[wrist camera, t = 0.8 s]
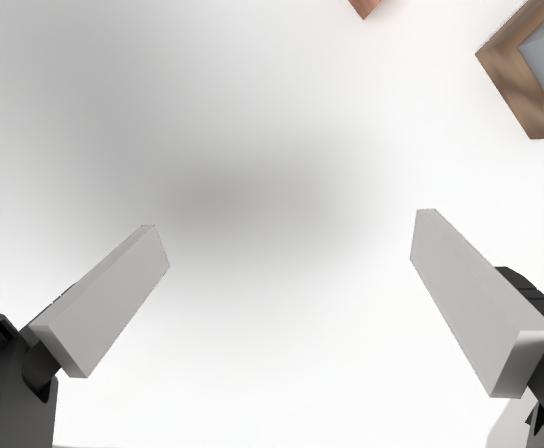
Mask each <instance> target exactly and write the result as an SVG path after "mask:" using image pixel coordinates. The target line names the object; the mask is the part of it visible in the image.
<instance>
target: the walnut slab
mask: <svg viewBox="0 0 544 448" xmlns="http://www.w3.org/2000/svg"><path fill="white" fill-rule="evenodd" d="M543 21H544V0H528V1H527V2H526V3H525V4H524V5H523V6H522V7H521V8H520V9H519V10H518V11H517V12H516V13H515V14H514V15H513V16H512V17H511V18H510V19H509V20H508V21H507V22H506V23H505V24H504V25H503V26H502V27H501V28H500V29H499V30H498V31H497V32H496V33H495V35H494V36H493V37H492V38H491V39H490V40H489V41H488V42H487V43H486V44H485V45H484V46H483V47H482V48H481V49H480V50H479V51H478V52H477V53H476V54H475V56H476V57H477V59H478V60H479V62H480V63H481V65H482V66H483V68H484V69H485V71H486V72H487V74H488V75H489V77H490V78H491V80H492V82H493V83H494V85H495V86H496V88H497V89H498V91H499V92H500V94H501V95H502V97H503V98H504V100H505V101H506V103H507V105H508V106H509V108H510V109H511V111H512V112H513V114H514V115H515V117H516V118H517V120H518V121H519V123H520V124H521V126H522V127H523V129H524V131H525V132H526V134H527V135H528V137H529V138H530V139H544V91H543V89H542V88H541V86H540V84H539V83H538V81H537V79H536V78H535V76H534V74H533V73H532V71H531V69H530V68H529V66H528V64H527V63H526V61H525V59H524V58H523V56H522V54H521V53H520V51H519V49H518V48H517V47H518V46H519V45H520V44H521V43H522V42H523V41H524V40H525V39H526V38H527V37H528V36H529V35H530V34H531V33H532V32H533V31H534V30H535V29H536V28H537V27H538V26H539V25H540V24H541V23H542V22H543Z"/></svg>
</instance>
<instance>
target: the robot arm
mask: <svg viewBox="0 0 544 448" xmlns="http://www.w3.org/2000/svg"><path fill="white" fill-rule="evenodd" d="M410 260H411V262H412V264H413V266H414V267H415V269H416V271H417V272H418V274H419V276H420V278H421V279H422V281H423V283H424V285H425V286H426V288H427V290H428V292H429V293H430V295H431V297H432V298H433V300H434V302H435V304H436V305H437V307H438V309H439V311H440V312H441V314H442V316H443V317H444V319H445V321H446V323H447V324H448V326H449V328H450V330H451V331H452V333H453V335H454V337H455V338H456V340H457V342H458V343H459V345H460V347H461V349H462V350H463V352H464V354H465V356H466V357H467V359H468V361H469V362H470V364H471V366H472V368H473V369H474V371H475V373H476V375H477V376H478V378H479V380H480V382H481V383H482V385H483V387H484V388H485V390H486V392H487V394H488V395H489V397H495V398H516V399H520V398H521V396H522V395H523V393H524V391H525V389H526V388H527V386H528V387H529V388H530V390H531V391H532V392H533V394H534V395H535V397H536V398H537V399H538V402H537V404H536V405H535V407H534V409H533V410H532V412H531V413H530V415H529V416H528V418H527V420H526V421H525V423H527V424H529V425H530V431H529V435H528V440H527V445H526V448H544V294H543V293H542V292H541V291H539V290H537V289H536V287H535V286H534V285H533V284H532V283H531V282H529V281H528V280H527V279H526V278H525V277H524V276H522V275H521V274H519V273H517V272H515V271H513V270H511V269H509V268H508V267H493V266H492V265H491V264H490V263H489V262H488V261H487V260H486V259H485V258H484V257H483V256H482V255H481V254H480V253H479V252H478V251H477V250H476V249H475V248H474V247H473V246H472V245H471V244H470V243H469V242H468V241H467V240H466V239H465V238H464V237H463V236H462V235H461V234H460V233H459V232H458V231H457V230H456V229H455V228H454V227H453V226H452V225H451V224H450V223H449V222H448V221H447V220H446V219H445V218H444V217H443V216H442V215H441V214H440V213H439V212H438V211H437V210H436V209H420V210H417V213H416V219H415V226H414V233H413V240H412V246H411V253H410ZM169 267H170V264H169V262H168V259H167V256H166V254H165V251H164V248H163V246H162V243H161V240H160V238H159V235H158V233H157V230H156V227H155V225H144V226H141V227H140V228H138V229H137V230H136V231H135V232H134V233H133V234H132V235H130V236H129V237H128V238H127V239H126V240H125V241H124V242H122V243H121V244H120V245H119V246H118V247H117V248H116V249H114V250H113V251H112V252H111V253H110V254H109V255H108V256H106V257H105V258H104V259H103V260H102V261H101V262H100V263H98V264H97V265H96V266H95V267H94V268H93V269H92V270H90V271H89V272H88V273H87V274H86V275H85V276H84V277H83V278H81V279H80V280H79V281H78V282H77V283H75V284H73V285H72V286H71V287H69V288H68V289H67V290H66V291H65V292H64V293H62V294H61V296H59V297H58V298H57V299H56V300H54V301H53V304H50V305H49V306H48V307H46V308H45V309H44V310H43V311H42V312H41V313H39V314H38V315H37V316H36V317H35V318H34V319H33V320H31V321H30V322H29V323H28V324H27V325H26V326H25V327H23V328H22V329H21V330H20V331H19V332H18V331H17V329H16V328H15V327H14V326H13V325H12V323H11V322H10V321H9V320H8V319H7V317H6V316H5V315H3V314H0V448H52V442H53V432H54V422H55V412H56V402H57V392H58V379H57V377H56V376H55V374H56V373H57V371H58V370H59V369H60V368H62V369H63V370H64V371H65V373H66V374H67V375H68V376H69V377H73V378H88V377H89V375H90V374H91V373H92V371H93V370H94V369H95V367H96V366H97V365H98V363H99V362H100V360H101V359H102V358H103V356H104V355H105V354H106V352H107V351H108V350H109V348H110V347H111V346H112V344H113V343H114V341H115V340H116V339H117V337H118V336H119V335H120V333H121V332H122V331H123V329H124V328H125V327H126V325H127V324H128V323H129V321H130V320H131V318H132V317H133V316H134V314H135V313H136V312H137V310H138V309H139V308H140V306H141V305H142V304H143V302H144V301H145V299H146V298H147V297H148V295H149V294H150V293H151V291H152V290H153V289H154V287H155V286H156V285H157V283H158V282H159V281H160V279H161V278H162V276H163V275H164V274H165V272H166V271H167V270H168V268H169Z"/></svg>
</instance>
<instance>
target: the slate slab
mask: <svg viewBox="0 0 544 448" xmlns="http://www.w3.org/2000/svg"><path fill="white" fill-rule="evenodd" d="M517 48H518V49H519V51H520V53H521V54H522V56H523V58H524V59H525V61H526V63H527V64H528V66H529V68H530V69H531V71H532V73H533V74H534V76H535V78H536V79H537V81H538V83H539V84H540V86H541V88H542V89H543V91H544V21H543V22H542V23H541V24H540V25H539V26H538V27H537V28H536V29H535V30H534V31H533V32H532V33H531V34H530V35H529V36H528V37H527V38H526V39H525V40H524V41H523V42H522V43H521V44H520V45H519V46H518V47H517Z"/></svg>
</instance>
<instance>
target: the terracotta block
mask: <svg viewBox="0 0 544 448" xmlns="http://www.w3.org/2000/svg"><path fill="white" fill-rule="evenodd" d="M348 1H349V2H350V3H351V5H352V6H353V7H354V9H355V10H356V11H357V13H358V14H359V15H360V17H361V18H362V19H363V20H364V19H365V18H366V17H367V15H368V14H369V13H370V12H371V11H372V10H373V9H374V8H375V7H376V5H377V4H378V3H379V2H380V1H381V0H348Z"/></svg>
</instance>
